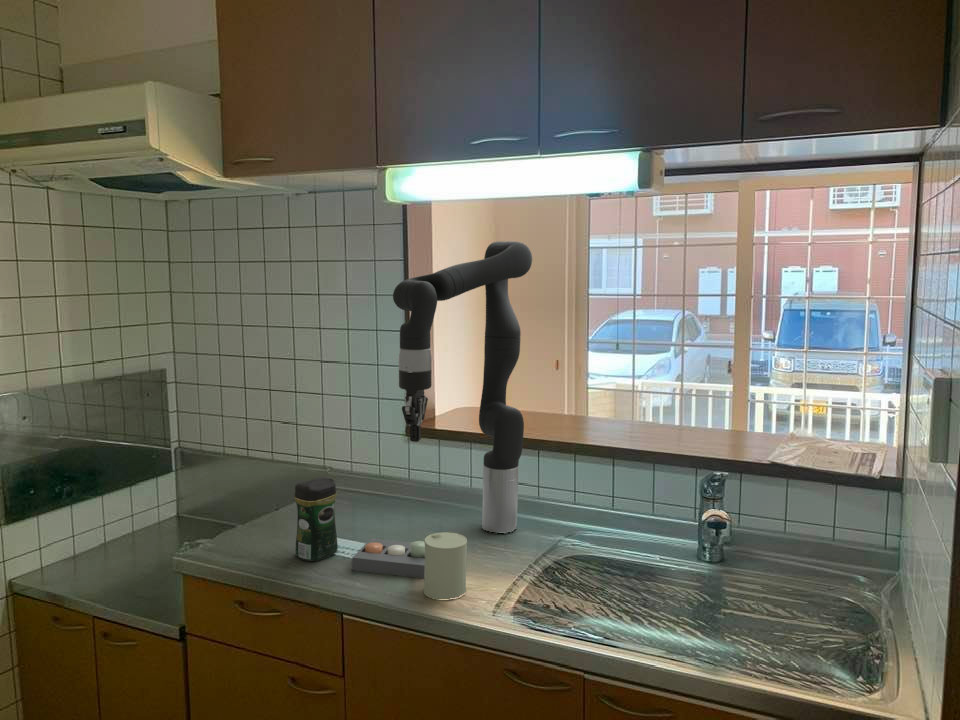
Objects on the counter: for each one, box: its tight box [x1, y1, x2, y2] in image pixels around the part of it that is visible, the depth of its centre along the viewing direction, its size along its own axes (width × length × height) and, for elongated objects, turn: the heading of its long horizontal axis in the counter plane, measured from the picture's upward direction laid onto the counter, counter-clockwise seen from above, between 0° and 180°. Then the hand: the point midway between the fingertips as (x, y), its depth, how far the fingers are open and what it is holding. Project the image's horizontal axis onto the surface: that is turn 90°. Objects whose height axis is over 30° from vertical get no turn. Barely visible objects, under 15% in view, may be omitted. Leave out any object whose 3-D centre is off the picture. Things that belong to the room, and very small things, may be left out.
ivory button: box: [388, 545, 405, 556], centre depth 172 cm, size 4×4×3 cm
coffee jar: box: [294, 475, 339, 562], centre depth 175 cm, size 10×8×19 cm
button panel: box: [351, 537, 425, 579], centre depth 172 cm, size 12×17×3 cm
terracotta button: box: [364, 543, 383, 554], centre depth 173 cm, size 4×4×3 cm
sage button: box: [410, 540, 425, 559], centre depth 171 cm, size 4×4×3 cm
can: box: [423, 531, 468, 600], centre depth 158 cm, size 9×9×12 cm
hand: (415, 440), depth 173 cm, fingers closed
